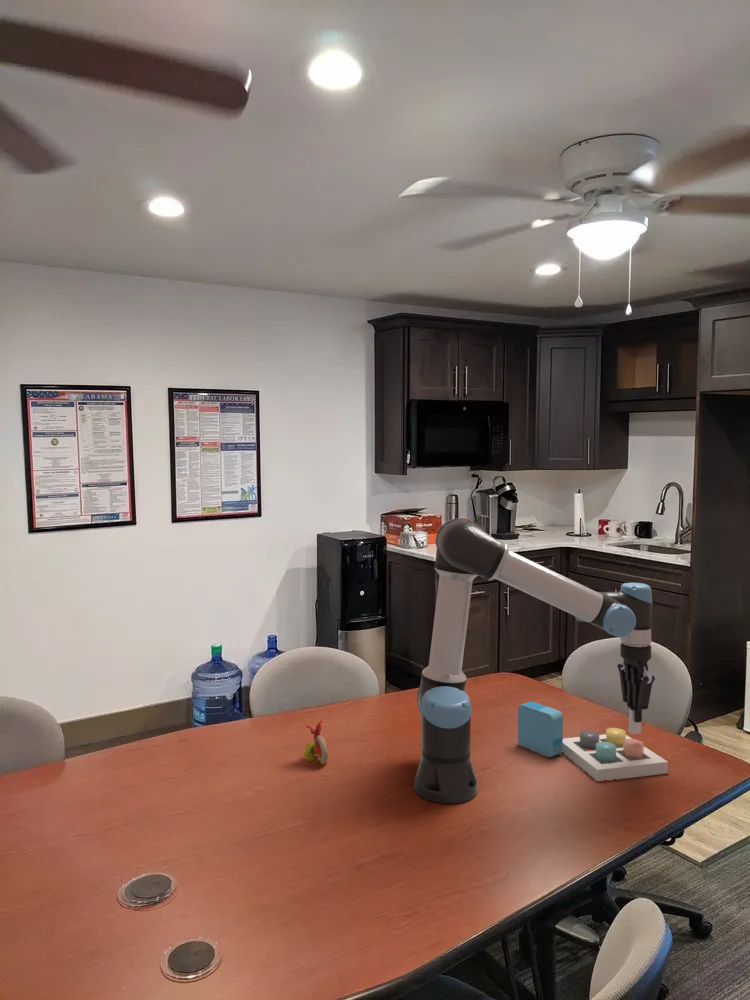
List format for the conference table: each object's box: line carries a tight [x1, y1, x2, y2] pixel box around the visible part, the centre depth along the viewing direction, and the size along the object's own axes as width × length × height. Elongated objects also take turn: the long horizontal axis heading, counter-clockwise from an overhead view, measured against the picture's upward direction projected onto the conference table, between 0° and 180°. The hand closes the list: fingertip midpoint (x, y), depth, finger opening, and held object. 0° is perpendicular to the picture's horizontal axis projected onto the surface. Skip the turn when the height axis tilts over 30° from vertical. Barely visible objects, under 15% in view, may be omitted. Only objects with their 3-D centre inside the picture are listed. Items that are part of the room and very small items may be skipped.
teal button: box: [596, 742, 616, 762], centre depth 183 cm, size 5×5×3 cm
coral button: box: [623, 738, 645, 759], centre depth 185 cm, size 5×5×3 cm
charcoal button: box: [579, 729, 600, 749], centre depth 191 cm, size 5×5×3 cm
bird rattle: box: [303, 719, 329, 766], centre depth 187 cm, size 6×11×9 cm
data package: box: [517, 701, 564, 758], centre depth 195 cm, size 12×4×12 cm, turn 38°
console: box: [562, 733, 669, 782], centre depth 188 cm, size 20×20×3 cm
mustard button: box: [605, 727, 627, 746], centre depth 193 cm, size 5×5×3 cm
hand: (634, 732), depth 185 cm, fingers closed
